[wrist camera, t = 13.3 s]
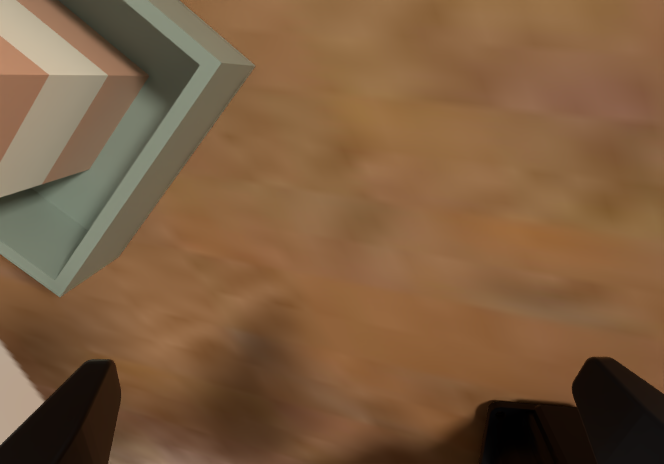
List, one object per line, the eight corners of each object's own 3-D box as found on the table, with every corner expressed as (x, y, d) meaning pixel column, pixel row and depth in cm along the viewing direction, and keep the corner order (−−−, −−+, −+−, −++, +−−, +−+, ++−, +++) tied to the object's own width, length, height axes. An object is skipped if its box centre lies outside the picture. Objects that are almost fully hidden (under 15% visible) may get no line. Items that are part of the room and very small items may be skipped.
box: (255, 66, 19) (221, 62, 15) (118, 257, 22) (59, 297, 18) (21, -136, 17) (-88, -200, 13) (-88, 101, 21) (-201, 107, 17)
